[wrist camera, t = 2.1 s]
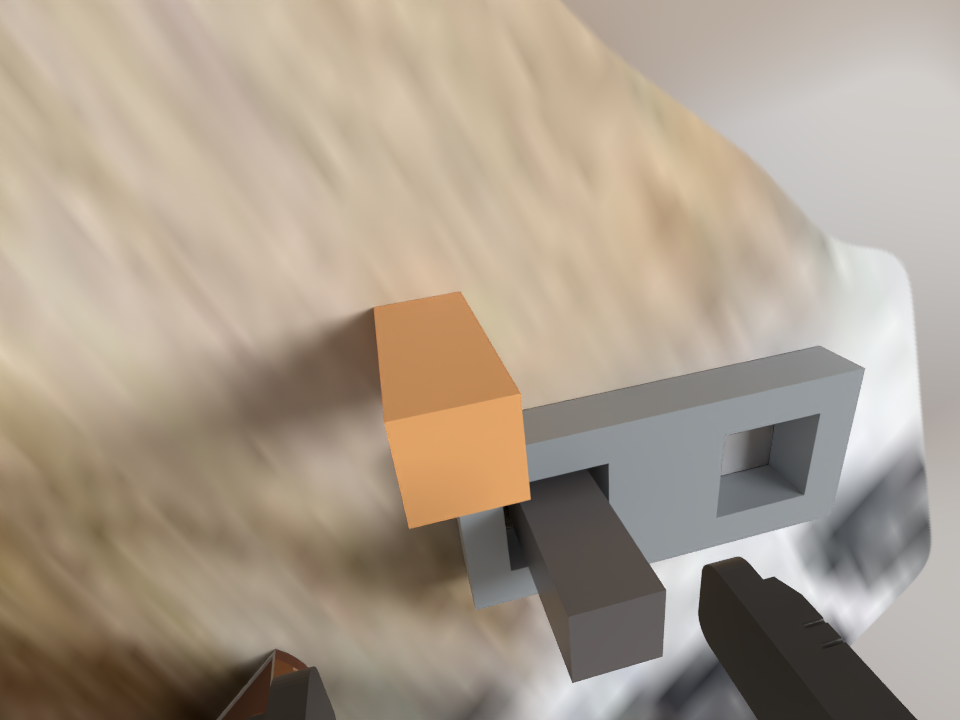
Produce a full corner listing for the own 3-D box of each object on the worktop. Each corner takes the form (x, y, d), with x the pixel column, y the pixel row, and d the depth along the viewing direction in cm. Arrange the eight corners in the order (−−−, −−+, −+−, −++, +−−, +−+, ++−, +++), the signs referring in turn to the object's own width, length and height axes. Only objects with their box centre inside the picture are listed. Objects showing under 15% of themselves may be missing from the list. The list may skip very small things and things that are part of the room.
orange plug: (390, 384, 26) (409, 528, 17) (373, 307, 24) (384, 422, 15) (471, 368, 26) (530, 499, 17) (460, 291, 24) (520, 393, 15)
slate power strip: (465, 568, 32) (508, 746, 23) (440, 428, 27) (482, 581, 18) (794, 484, 35) (945, 612, 26) (820, 345, 30) (1013, 442, 21)
